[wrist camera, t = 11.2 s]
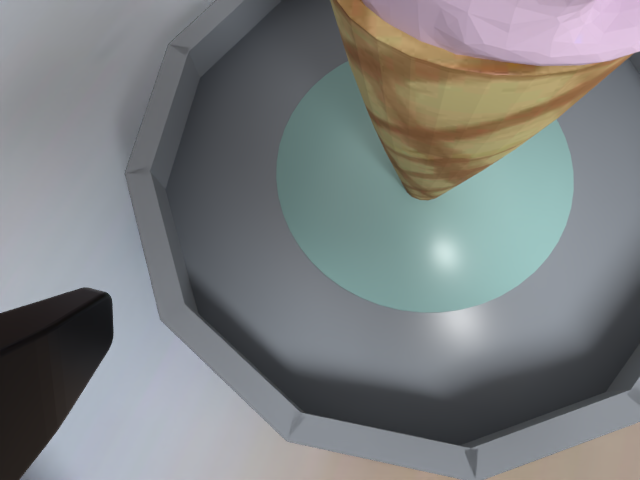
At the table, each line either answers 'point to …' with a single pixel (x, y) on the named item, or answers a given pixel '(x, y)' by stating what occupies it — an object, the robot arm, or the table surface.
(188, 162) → the round tray
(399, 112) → the ice cream cone
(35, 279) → the table surface
